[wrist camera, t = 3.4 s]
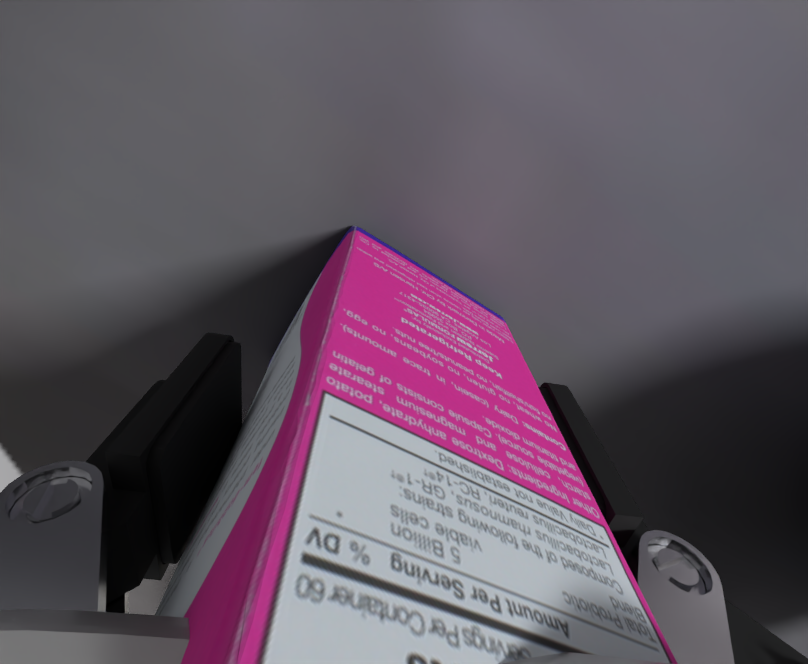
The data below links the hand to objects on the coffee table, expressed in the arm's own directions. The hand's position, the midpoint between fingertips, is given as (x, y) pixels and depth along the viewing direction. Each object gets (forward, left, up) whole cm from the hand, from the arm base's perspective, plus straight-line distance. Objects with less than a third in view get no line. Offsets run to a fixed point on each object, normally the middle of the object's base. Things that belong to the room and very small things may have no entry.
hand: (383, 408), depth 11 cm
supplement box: (0, 0, -4) cm, 4 cm away
